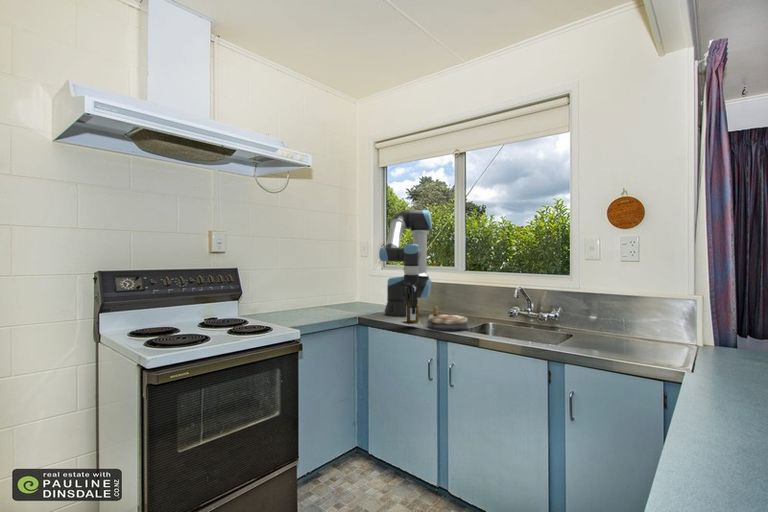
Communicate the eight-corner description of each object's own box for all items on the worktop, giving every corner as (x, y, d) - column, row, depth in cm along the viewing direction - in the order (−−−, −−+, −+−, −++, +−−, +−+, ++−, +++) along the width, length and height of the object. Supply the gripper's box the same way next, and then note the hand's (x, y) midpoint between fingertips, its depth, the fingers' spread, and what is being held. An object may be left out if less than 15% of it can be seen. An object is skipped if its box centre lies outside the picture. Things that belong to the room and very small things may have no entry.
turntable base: (421, 323, 213) (422, 314, 213) (458, 322, 218) (458, 313, 218) (435, 332, 193) (436, 321, 192) (475, 330, 197) (475, 320, 197)
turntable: (425, 322, 199) (425, 310, 198) (432, 316, 218) (432, 304, 218) (465, 325, 193) (465, 312, 192) (469, 318, 212) (469, 306, 212)
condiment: (421, 323, 202) (422, 299, 202) (408, 324, 198) (408, 301, 197) (413, 320, 208) (413, 298, 208) (400, 322, 204) (400, 299, 203)
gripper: (399, 272, 211) (399, 315, 211) (409, 275, 192) (409, 322, 193) (412, 272, 212) (412, 315, 213) (424, 275, 194) (423, 322, 195)
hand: (410, 318), depth 203 cm, fingers closed on condiment, 6 cm apart
